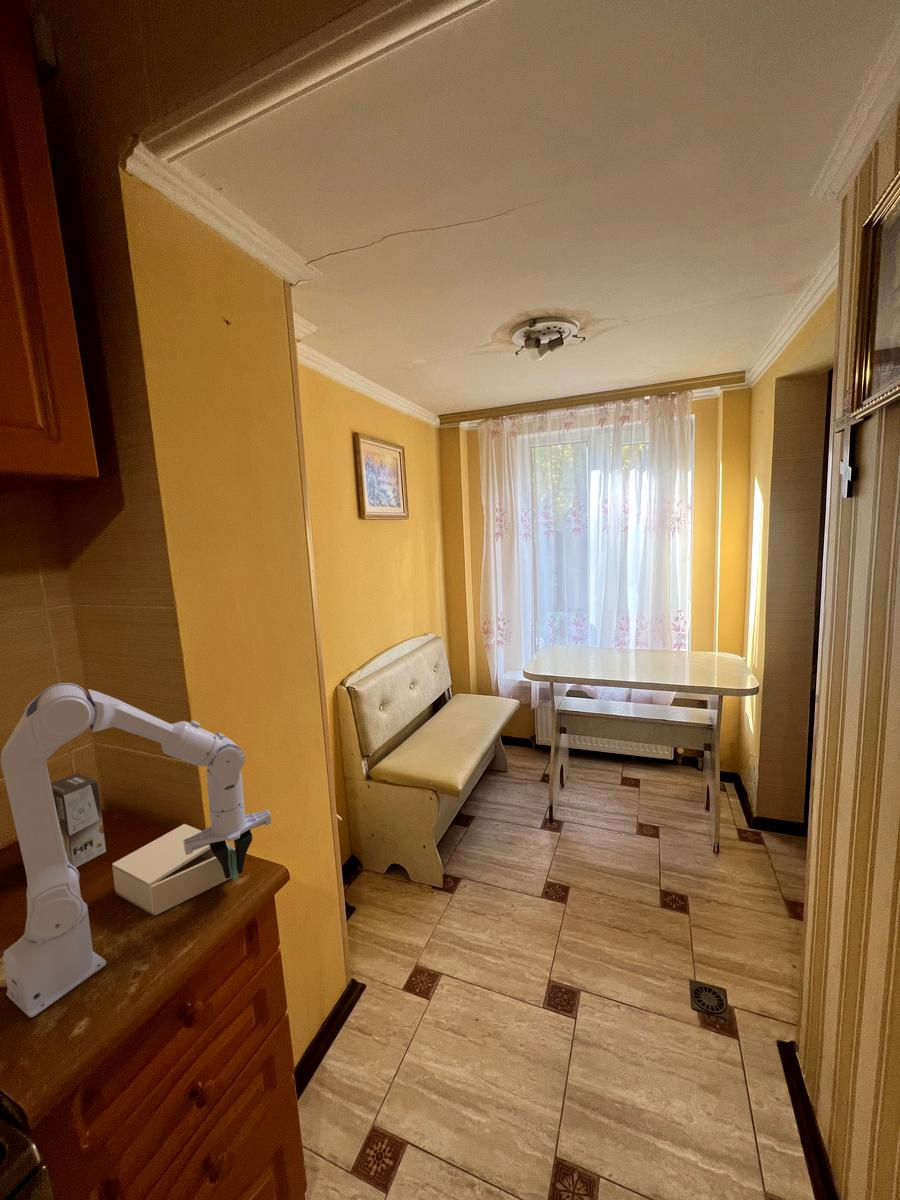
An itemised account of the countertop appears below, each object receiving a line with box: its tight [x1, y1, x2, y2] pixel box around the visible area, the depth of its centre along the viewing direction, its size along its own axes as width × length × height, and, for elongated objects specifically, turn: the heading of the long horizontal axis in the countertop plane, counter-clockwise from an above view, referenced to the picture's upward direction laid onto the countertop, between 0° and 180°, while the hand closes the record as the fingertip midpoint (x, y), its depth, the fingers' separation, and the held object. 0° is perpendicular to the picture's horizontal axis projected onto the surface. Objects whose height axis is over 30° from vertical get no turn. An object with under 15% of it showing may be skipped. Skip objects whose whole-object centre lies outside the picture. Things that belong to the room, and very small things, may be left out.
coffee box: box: [50, 772, 107, 869], centre depth 98 cm, size 9×6×16 cm
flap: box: [151, 842, 239, 916], centre depth 85 cm, size 14×5×7 cm, turn 134°
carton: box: [111, 823, 215, 916], centre depth 90 cm, size 14×12×6 cm
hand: (233, 872), depth 86 cm, fingers closed
